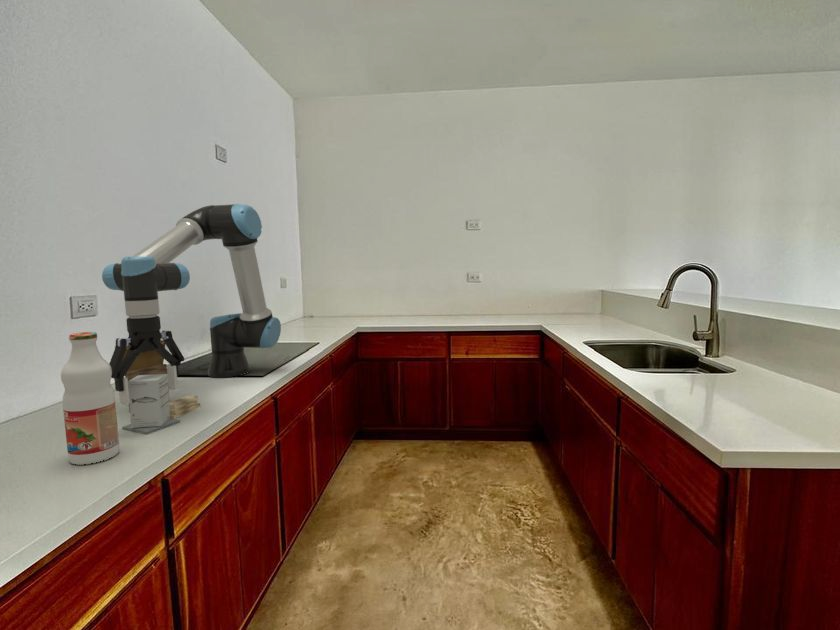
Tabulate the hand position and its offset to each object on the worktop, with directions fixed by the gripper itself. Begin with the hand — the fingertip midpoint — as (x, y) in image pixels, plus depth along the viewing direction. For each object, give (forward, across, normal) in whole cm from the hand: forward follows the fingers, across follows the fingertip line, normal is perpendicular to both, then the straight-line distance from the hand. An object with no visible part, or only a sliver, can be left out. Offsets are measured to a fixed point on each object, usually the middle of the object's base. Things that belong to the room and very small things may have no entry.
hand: (150, 395), depth 122 cm
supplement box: (+8, 0, 0) cm, 8 cm away
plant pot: (+9, -23, -37) cm, 44 cm away
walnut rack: (+8, -10, -15) cm, 20 cm away
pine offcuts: (+9, -11, -2) cm, 14 cm away
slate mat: (+8, 0, 0) cm, 8 cm away
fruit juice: (+8, +19, +7) cm, 22 cm away
